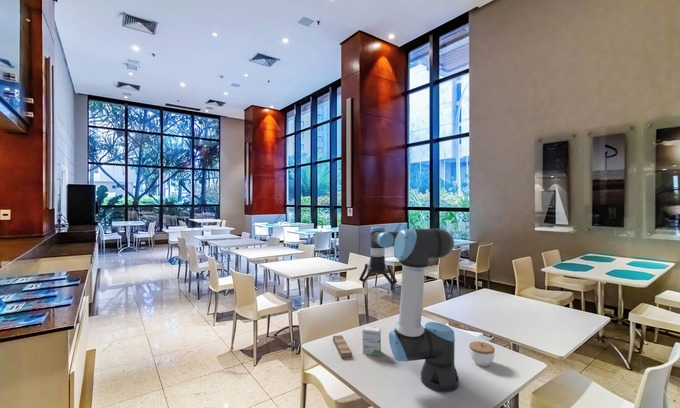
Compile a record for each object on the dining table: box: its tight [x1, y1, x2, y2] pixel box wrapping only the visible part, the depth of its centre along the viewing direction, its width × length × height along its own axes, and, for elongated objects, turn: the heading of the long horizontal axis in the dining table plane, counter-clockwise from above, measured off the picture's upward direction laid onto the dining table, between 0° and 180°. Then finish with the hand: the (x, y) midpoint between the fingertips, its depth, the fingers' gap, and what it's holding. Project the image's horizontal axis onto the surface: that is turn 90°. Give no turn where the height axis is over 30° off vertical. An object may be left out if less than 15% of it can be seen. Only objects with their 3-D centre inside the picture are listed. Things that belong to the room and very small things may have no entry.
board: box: [332, 334, 353, 360], centre depth 162 cm, size 20×5×2 cm, turn 13°
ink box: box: [362, 326, 382, 356], centre depth 158 cm, size 9×5×12 cm, turn 75°
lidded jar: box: [468, 340, 496, 367], centre depth 148 cm, size 11×11×9 cm
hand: (377, 295), depth 171 cm, fingers open, 13 cm apart
